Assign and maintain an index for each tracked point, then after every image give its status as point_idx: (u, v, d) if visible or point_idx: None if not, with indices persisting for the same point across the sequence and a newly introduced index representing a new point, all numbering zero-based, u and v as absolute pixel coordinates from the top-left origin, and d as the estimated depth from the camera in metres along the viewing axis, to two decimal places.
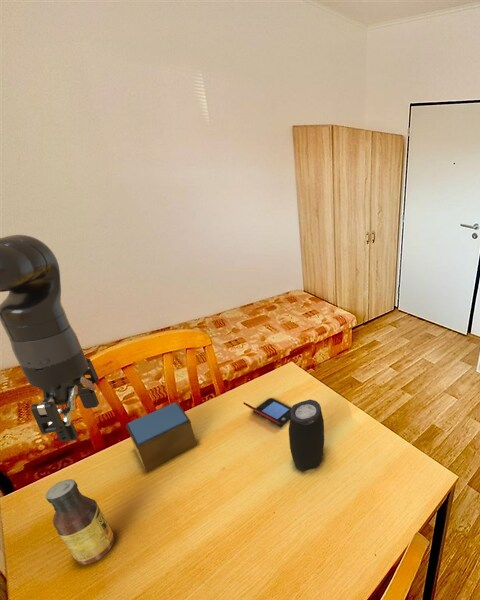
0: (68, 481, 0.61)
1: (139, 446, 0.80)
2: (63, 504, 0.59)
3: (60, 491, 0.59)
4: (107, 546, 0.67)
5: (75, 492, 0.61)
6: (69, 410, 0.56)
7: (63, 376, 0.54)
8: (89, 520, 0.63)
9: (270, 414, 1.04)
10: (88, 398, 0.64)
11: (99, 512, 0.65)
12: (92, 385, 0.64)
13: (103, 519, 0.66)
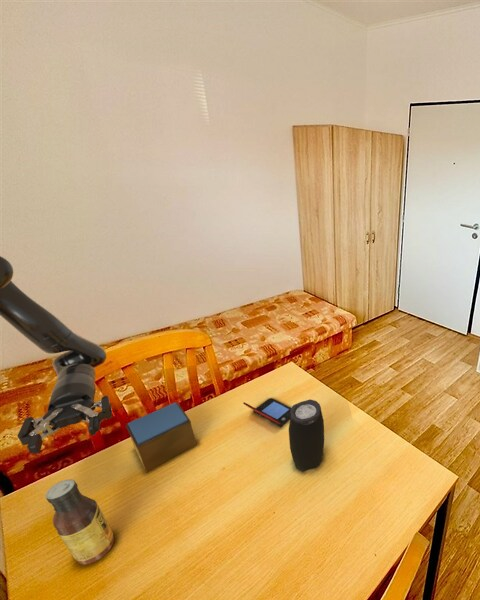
0: (68, 481, 0.61)
1: (139, 446, 0.80)
2: (63, 504, 0.59)
3: (60, 491, 0.59)
4: (107, 546, 0.67)
5: (75, 492, 0.61)
6: None
7: None
8: (89, 520, 0.63)
9: (270, 414, 1.04)
10: (39, 442, 0.66)
11: (99, 512, 0.65)
12: None
13: (103, 519, 0.66)
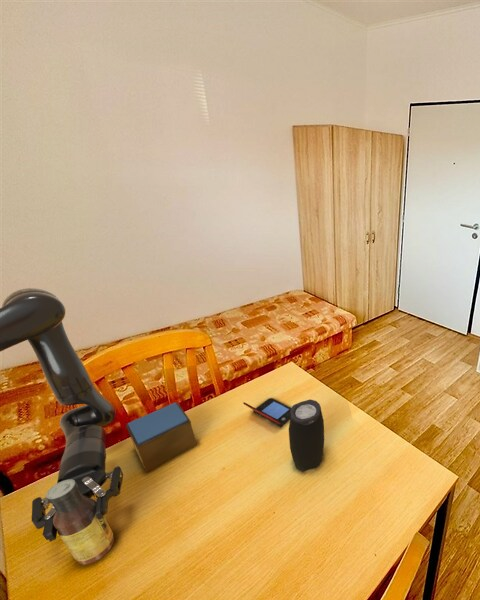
0: (68, 481, 0.61)
1: (139, 446, 0.80)
2: (64, 504, 0.59)
3: (60, 491, 0.59)
4: (107, 546, 0.67)
5: (75, 492, 0.61)
6: None
7: None
8: (89, 520, 0.63)
9: (270, 414, 1.04)
10: None
11: None
12: None
13: (103, 519, 0.66)
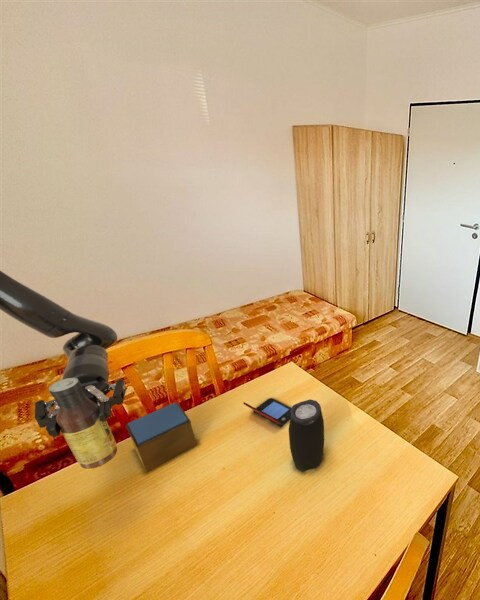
0: (72, 379, 0.60)
1: (139, 446, 0.80)
2: (67, 399, 0.59)
3: (64, 386, 0.59)
4: (110, 453, 0.67)
5: (79, 390, 0.60)
6: None
7: None
8: (93, 421, 0.62)
9: (270, 414, 1.04)
10: None
11: None
12: None
13: (106, 425, 0.66)
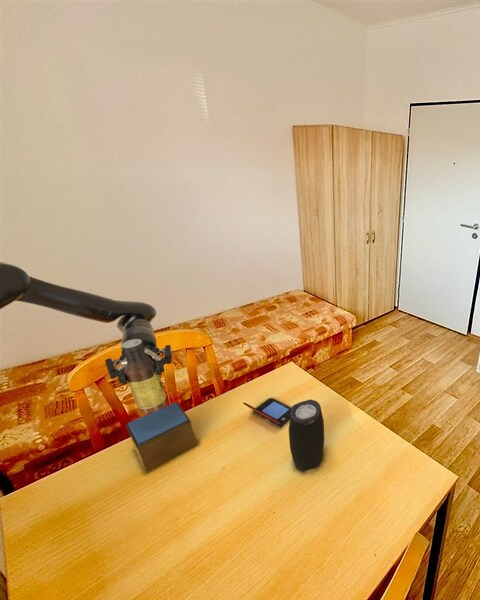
0: (136, 340, 0.77)
1: (139, 446, 0.80)
2: (134, 355, 0.76)
3: (132, 344, 0.75)
4: (162, 402, 0.83)
5: (142, 348, 0.77)
6: None
7: None
8: (151, 374, 0.79)
9: (270, 414, 1.04)
10: None
11: None
12: None
13: (160, 379, 0.82)
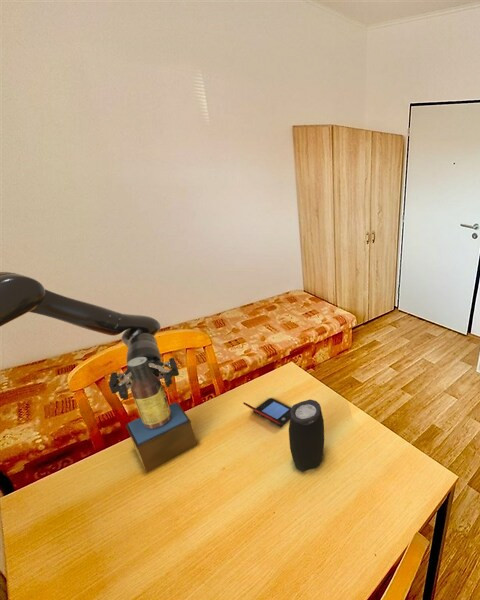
0: (142, 357, 0.80)
1: (139, 446, 0.80)
2: (140, 372, 0.78)
3: (137, 362, 0.78)
4: (167, 417, 0.86)
5: (147, 365, 0.79)
6: None
7: None
8: (156, 390, 0.81)
9: (270, 414, 1.04)
10: (127, 390, 0.79)
11: (162, 388, 0.84)
12: None
13: (164, 395, 0.85)
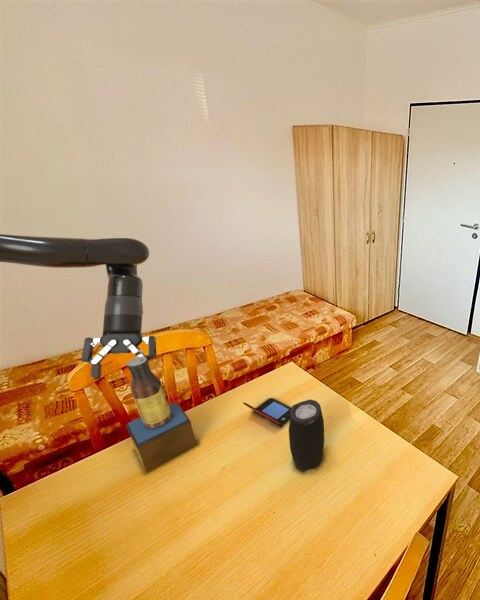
0: (141, 357, 0.80)
1: (139, 446, 0.80)
2: (140, 372, 0.78)
3: (137, 362, 0.78)
4: (168, 416, 0.86)
5: (147, 365, 0.79)
6: None
7: None
8: (157, 389, 0.82)
9: (270, 414, 1.04)
10: (100, 369, 0.79)
11: (162, 387, 0.84)
12: None
13: (164, 394, 0.85)
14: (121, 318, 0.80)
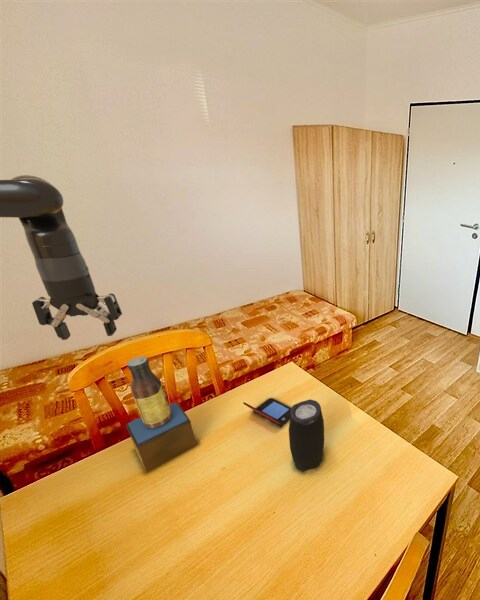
0: (141, 357, 0.80)
1: (139, 446, 0.80)
2: (140, 372, 0.78)
3: (138, 362, 0.78)
4: (168, 416, 0.86)
5: (148, 365, 0.80)
6: (104, 308, 0.76)
7: (92, 282, 0.74)
8: (157, 389, 0.82)
9: (270, 414, 1.04)
10: (65, 328, 0.74)
11: (162, 387, 0.84)
12: None
13: None
14: (60, 285, 0.67)
